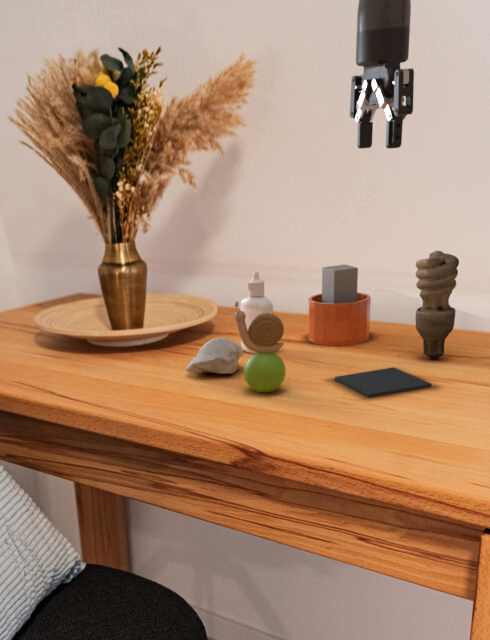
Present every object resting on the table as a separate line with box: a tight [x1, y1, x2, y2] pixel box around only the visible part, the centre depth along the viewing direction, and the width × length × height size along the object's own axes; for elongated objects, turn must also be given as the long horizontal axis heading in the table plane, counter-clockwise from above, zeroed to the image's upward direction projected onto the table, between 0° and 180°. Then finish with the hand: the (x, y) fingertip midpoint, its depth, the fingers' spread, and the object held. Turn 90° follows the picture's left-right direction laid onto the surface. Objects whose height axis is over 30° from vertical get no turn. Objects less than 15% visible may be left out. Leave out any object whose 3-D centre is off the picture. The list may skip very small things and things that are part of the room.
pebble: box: [185, 336, 244, 375], centre depth 121 cm, size 9×8×5 cm
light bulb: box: [415, 250, 460, 361], centre depth 116 cm, size 6×6×15 cm
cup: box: [307, 291, 372, 346], centre depth 133 cm, size 9×9×6 cm
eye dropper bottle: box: [239, 271, 274, 354], centre depth 128 cm, size 4×6×12 cm
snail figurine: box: [234, 301, 287, 394], centre depth 109 cm, size 5×6×12 cm
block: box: [321, 264, 359, 303], centre depth 132 cm, size 4×4×10 cm
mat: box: [334, 367, 432, 399], centre depth 111 cm, size 9×9×1 cm
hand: (378, 148), depth 129 cm, fingers open, 8 cm apart
